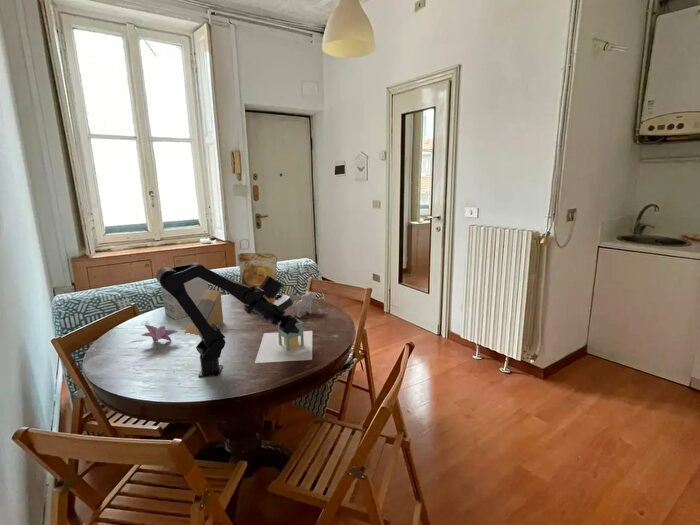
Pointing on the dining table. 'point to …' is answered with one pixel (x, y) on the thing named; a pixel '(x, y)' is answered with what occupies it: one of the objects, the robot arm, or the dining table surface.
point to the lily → (158, 333)
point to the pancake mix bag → (257, 269)
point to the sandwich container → (208, 310)
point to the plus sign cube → (292, 342)
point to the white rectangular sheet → (284, 349)
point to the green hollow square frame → (291, 334)
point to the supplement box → (193, 289)
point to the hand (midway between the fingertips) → (293, 329)
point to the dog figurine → (303, 303)
